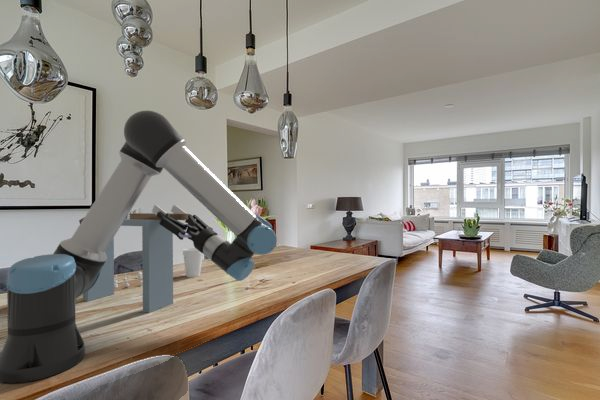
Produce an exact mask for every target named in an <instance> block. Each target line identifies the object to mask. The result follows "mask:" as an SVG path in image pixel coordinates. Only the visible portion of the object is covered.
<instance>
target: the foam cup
mask: <svg viewBox="0 0 600 400" xmlns="http://www.w3.org/2000/svg"><path fill="white" fill-rule="evenodd" d="M182 256H183V261H184V262H183V263H184V268H185V269H184V270H185V275H186V277H187V278H196V277H200V275H201V270H202V261H203V256H204V254H203V253H201V252H200V251H199V250H197V249H196V248H195V247H187V248H183V249H182Z"/></svg>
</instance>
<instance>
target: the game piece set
mask: <svg viewBox="0 0 600 400" xmlns="http://www.w3.org/2000/svg"><path fill="white" fill-rule="evenodd" d="M124 275H125V277H123V279H124V280H128V278H127V274H126V273H124ZM137 277H138V279H141V278H142V277H143V272H141V271H138V272H137ZM117 278H118V275H117V274H115V275H114V289H117V288H119V286H118V285H119V284H118V283H119V280H118V279H117ZM139 282H140V286H139V287H143V279H142V280H140V281H139ZM124 287H126V288H129V287H130V284H129V282H126V283H125V285H124Z"/></svg>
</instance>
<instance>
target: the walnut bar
mask: <svg viewBox="0 0 600 400" xmlns="http://www.w3.org/2000/svg"><path fill="white" fill-rule="evenodd" d="M188 214H189V213H188ZM188 214H174V213H169V216H170V217H172V218H174V219H176V220H177V221H186V220H188ZM129 218H130V219H144V220H161V219H160V218H159V217H157V216H156V215H155V214H154V213H153V212H152V213H149V212H148V213H146V212H145V213H144V212H143V213H141V212H135V213H133V212H132V213H129Z"/></svg>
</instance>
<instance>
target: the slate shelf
mask: <svg viewBox="0 0 600 400" xmlns="http://www.w3.org/2000/svg"><path fill="white" fill-rule="evenodd" d="M160 221H161V220H144V219H130V217H127V218H126V219H125V220H124V222H123V223H122V225H121V226H120V227H122V226H123V227H141V231H142V232H141V236H142V237H141V238H142V241H141V242H142V245H141V247H142V250H141V251H142V252H141V253H142V256H141V257H142V280H143V286H142V312H145V313H153V312H154V311H157V310H161V309H162V308H165V307H168V306H170V305H172V304H174V248H173V247H174V243H173V242H174V241H173V240H174V239H173V238H174V237H173V236H174V234H173V233H172V232H170V231H169V230H167V229H166V228H164V227H163V226H161V225H160V224H159V223H160ZM114 245H115V238H113V239H112V241H111V242H110V244H109V246H108V247H107V249H106V251H105V253H106V256H107V260H106V262H105V263H104V265H103V267H102V269H101V271H100V275H99V278H98V280H97V282H96V283H95V285H94V286H93V287H92V288H90V290H88V291H87V292H85V293H84V294H82V301H84V302H91V301H93V300H94V301H95V300H98V299H102V298H105V297H108V296H111V295H114V294H115V288H114V285H115V283H114V282H115V246H114Z"/></svg>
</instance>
